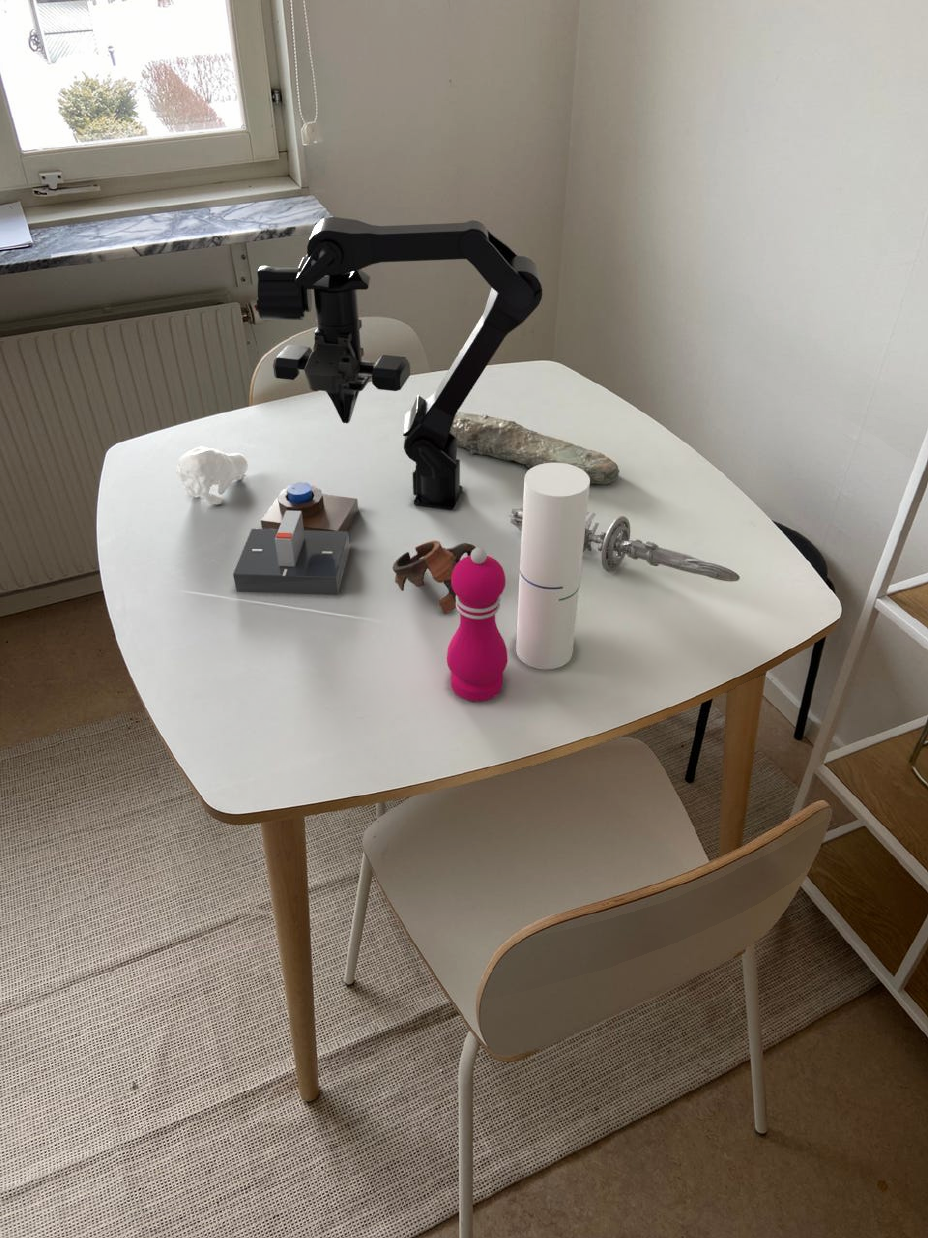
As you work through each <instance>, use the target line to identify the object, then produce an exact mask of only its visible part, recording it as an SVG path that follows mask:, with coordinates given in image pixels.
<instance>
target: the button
mask: <svg viewBox="0 0 928 1238" xmlns="http://www.w3.org/2000/svg"><path fill="white" fill-rule="evenodd" d="M286 488H287V494H288V500H289V502H291V503H296V504H301V503H307V502H309V501H311V500H312V498H313V496H312V488H311V484H310V483H309V482H304V481H299V482H293V483H291V484H289V485H288V486H287V487H286Z"/></svg>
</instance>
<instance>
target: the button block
mask: <svg viewBox="0 0 928 1238" xmlns="http://www.w3.org/2000/svg"><path fill="white" fill-rule="evenodd" d="M310 485H311V484H310ZM287 488H288V487H286V488H283V489H282V490H281V491H280V492H279V493H278V495H277V497H276V499H275V500H274V501H273V503H272V504H271V505H270V506H269V508H268V509H267V511H266V512H265V514H264V515H263V516H262V518H261V519H260V526H261V529H279V527H280V525H281V522H282V520H283V517H284V514H285V512H286V510H287V511H302V519H303V526H304V530H313V531H344V532H348V529H349V527H350V526H351V524H352V523H353V521H354V519H355V517H356V515H358V512H359V503H358V502H359V501H358V498H356V497H347V496H341V495H340V496H339V495H332V494H325V493H322V490H321V489H320V488H318V487H316V486H314V485H313V484H312V485H311V488H312V496H313V498H312V500H311V501H309V502H307V503H301V504H296V503H291V502H289V500H288V494H287Z"/></svg>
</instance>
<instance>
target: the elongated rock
mask: <svg viewBox="0 0 928 1238" xmlns="http://www.w3.org/2000/svg"><path fill="white" fill-rule="evenodd" d="M450 432H451V433H452V434H453V435H454V436H455V437H456V438H457V447H460V448H463V449H467V450H468V451H470V454H471V455H474V454H478V455H481V456H484V455H485V456H486V455H487V456H491V457H492V458H495V459H500V460H503V461H515V462H516V463H518V464H521V465H526V467H527V469H531V468H533V467H535V466H537V465H540V464H544V463H565V464H570V465H573V466H576V467H578V468H580V469H582V470H583V471H585V472H586V473H587V474H588V476H589V478H590V484H593V485H608V484H611V483H614V482H615V481H616V480H617V479H618V477H619V473H620V469H619V465H618V464H617V463H616V462H615V461H614V460H612V459H611V458H609V457H608V456H606V455H605V454H603V453H602V452H600V451H596V450H594V449H590V448H589V449H588V448H586V447H583V446H580V445H577V444H574V443H572V442H570V441H569V442H568V441H564V440H562V439H557V438H554V437H551V436H547V435H544V434H541V433H539V432H537V431H534V430H532V429H528V428H527V427H524V426H523V425H521V424H519V423H517V422H516V421H514V420H506V419H502V418H499V417H494V416H489V415H487V414H483V415H479V414H475V413H470V412H461V411H457V413H456V415H455V417H454V420H453V423H452V427H451V430H450Z"/></svg>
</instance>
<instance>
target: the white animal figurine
mask: <svg viewBox="0 0 928 1238" xmlns="http://www.w3.org/2000/svg"><path fill="white" fill-rule="evenodd" d="M248 468H249V464H248V460H247V458H246V457H245V456H244V455H242V454H241V453H237V452H234V453H225V452H223V451H220V450H219V449H216V448H211V447H206V446H199V447H195V448H193V449H190V450H189V451H187V452H186V453H185V454H183V455H182V456H180V458H179V459H178V463H177V467H176V470H175V473H176V475H177V476H178V478H179V481H180V484H181V485H182V486H183V488H184V490H185V492H186V493H187V494H188V495H190V496H191V497H192V498H196V499H197V498H200V499H202V500H203V501H205V502H206V503H208V504H210V505H216V506H217V505H221V504H222V502H223V501H222V500H221V498H220V497H218V496H217V495H215V494H214V493H210V489H211V487H212V486H214V485H215V486H216V485H218V487H217V492H218V494H219V495H223V494H224V493H225V492H226V490H227V489H228V488H229V487H230V485H231V483H232V482H233V481H234V482H237V481H242V483H244V480H245V478H246V476H247V474H246V473H247V471H248Z"/></svg>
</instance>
